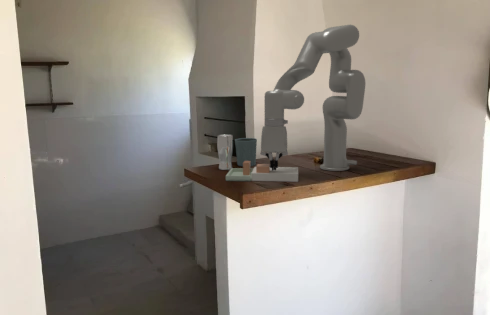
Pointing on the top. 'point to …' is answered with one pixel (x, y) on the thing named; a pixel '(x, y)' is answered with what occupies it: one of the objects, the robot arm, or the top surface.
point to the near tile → (263, 168)
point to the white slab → (277, 174)
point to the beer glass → (225, 151)
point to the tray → (237, 175)
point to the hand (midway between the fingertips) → (274, 169)
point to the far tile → (246, 167)
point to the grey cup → (246, 150)
